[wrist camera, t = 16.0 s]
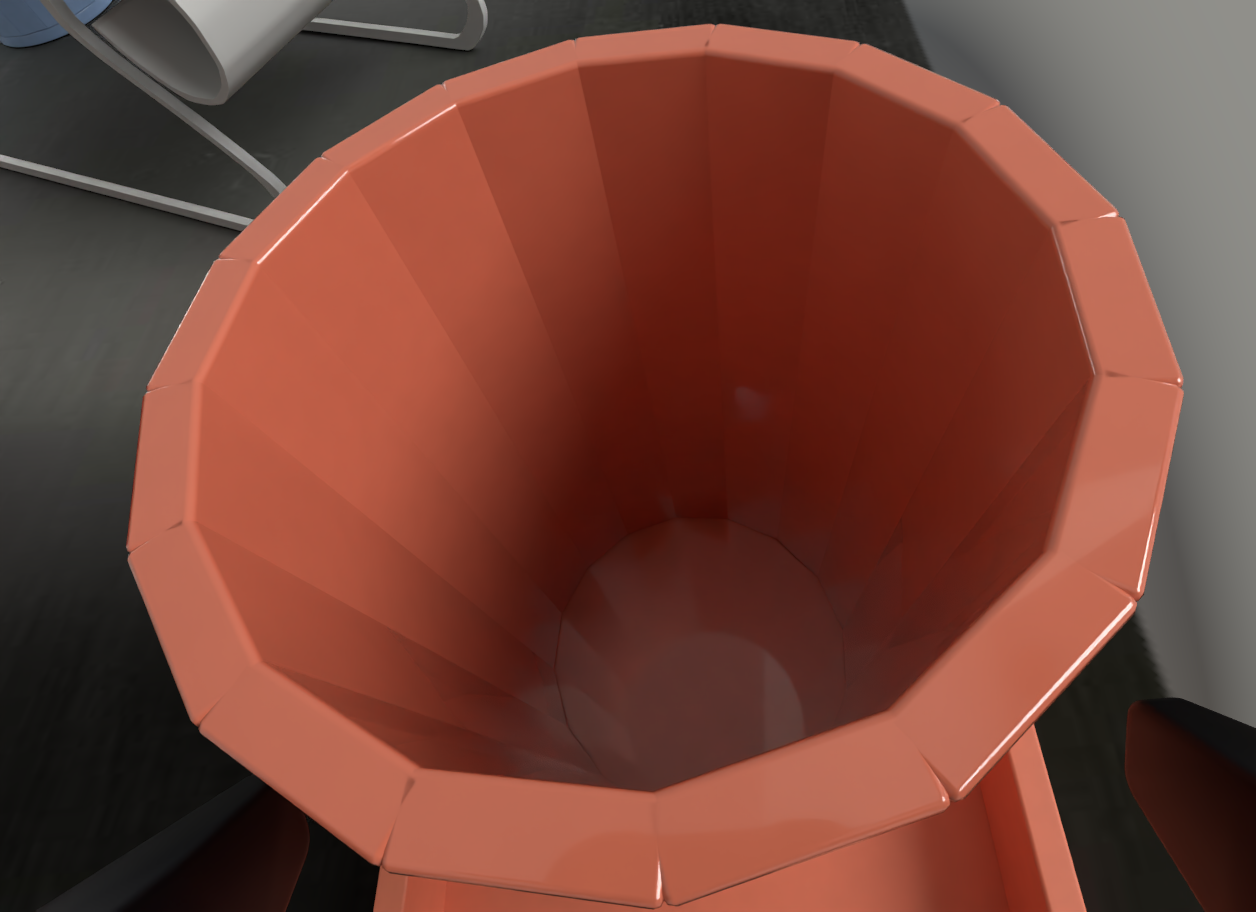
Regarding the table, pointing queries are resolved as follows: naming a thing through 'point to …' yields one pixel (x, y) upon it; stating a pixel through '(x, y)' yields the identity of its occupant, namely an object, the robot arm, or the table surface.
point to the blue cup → (40, 20)
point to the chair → (212, 68)
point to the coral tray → (864, 864)
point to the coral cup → (653, 463)
